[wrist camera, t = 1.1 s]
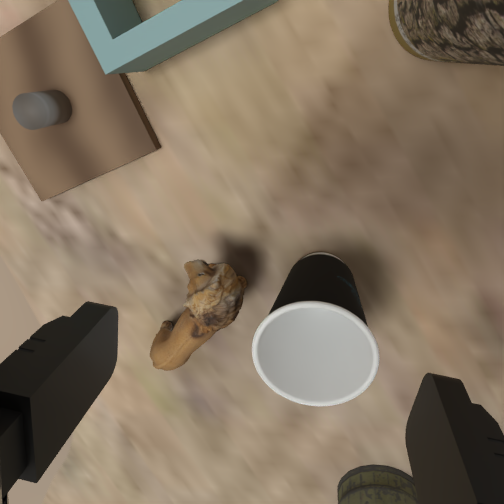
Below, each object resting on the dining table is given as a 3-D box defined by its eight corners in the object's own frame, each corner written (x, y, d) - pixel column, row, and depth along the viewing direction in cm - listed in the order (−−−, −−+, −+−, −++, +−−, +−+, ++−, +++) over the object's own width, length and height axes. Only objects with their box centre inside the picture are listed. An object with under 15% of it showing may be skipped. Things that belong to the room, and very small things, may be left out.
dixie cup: (388, 264, 36) (406, 345, 26) (336, 332, 39) (334, 426, 29) (304, 217, 35) (289, 280, 25) (258, 289, 39) (230, 369, 29)
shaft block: (84, -10, 31) (46, -20, 27) (161, 147, 35) (137, 159, 31) (-32, 63, 35) (-81, 64, 31) (48, 198, 39) (14, 214, 35)
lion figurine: (215, 219, 37) (179, 265, 29) (270, 251, 37) (250, 305, 29) (152, 339, 43) (109, 404, 35) (199, 365, 44) (167, 435, 36)
